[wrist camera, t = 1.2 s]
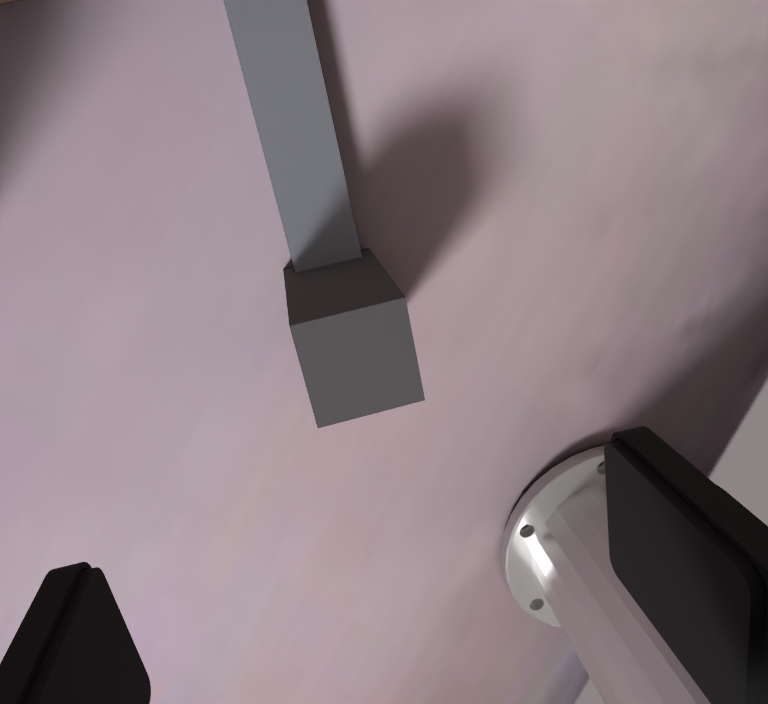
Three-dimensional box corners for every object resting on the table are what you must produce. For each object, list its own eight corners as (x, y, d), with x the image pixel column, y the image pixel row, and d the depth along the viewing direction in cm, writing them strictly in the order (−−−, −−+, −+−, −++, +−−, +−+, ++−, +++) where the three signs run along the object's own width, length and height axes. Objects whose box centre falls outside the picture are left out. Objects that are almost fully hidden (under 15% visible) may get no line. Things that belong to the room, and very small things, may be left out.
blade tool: (386, 328, 30) (424, 400, 23) (305, 348, 30) (317, 428, 22) (281, -168, 22) (288, -303, 15) (170, -149, 22) (122, -277, 15)
